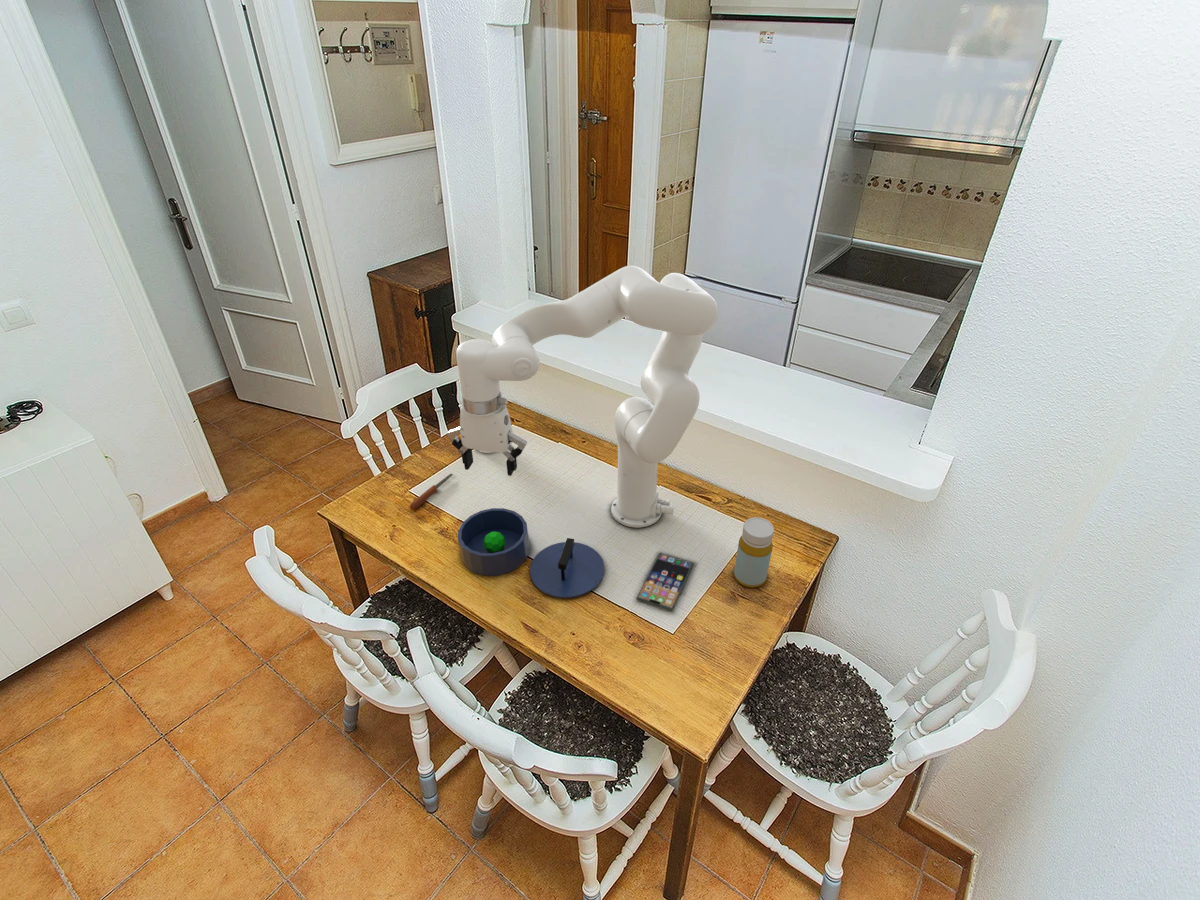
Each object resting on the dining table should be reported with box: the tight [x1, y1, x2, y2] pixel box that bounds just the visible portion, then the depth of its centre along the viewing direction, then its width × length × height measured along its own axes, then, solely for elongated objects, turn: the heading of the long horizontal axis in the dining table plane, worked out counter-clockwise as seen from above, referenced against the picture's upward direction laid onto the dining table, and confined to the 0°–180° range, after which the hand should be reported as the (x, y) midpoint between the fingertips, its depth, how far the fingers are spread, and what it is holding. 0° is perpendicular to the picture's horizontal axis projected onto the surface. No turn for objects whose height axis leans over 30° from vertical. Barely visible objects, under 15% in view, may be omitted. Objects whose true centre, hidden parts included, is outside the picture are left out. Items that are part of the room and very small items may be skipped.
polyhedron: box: [483, 531, 505, 553], centre depth 146 cm, size 5×5×5 cm
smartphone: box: [635, 552, 695, 612], centre depth 138 cm, size 8×15×1 cm, turn 156°
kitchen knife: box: [409, 473, 454, 510], centre depth 164 cm, size 16×1×2 cm, turn 150°
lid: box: [529, 537, 605, 599], centre depth 140 cm, size 17×17×6 cm
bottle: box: [733, 516, 775, 588], centre depth 135 cm, size 7×7×15 cm
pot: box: [457, 507, 530, 577], centre depth 145 cm, size 16×16×6 cm
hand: (490, 468), depth 136 cm, fingers open, 9 cm apart
